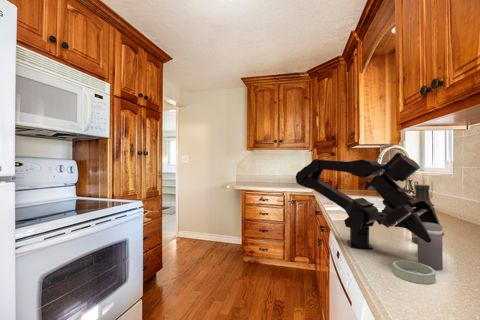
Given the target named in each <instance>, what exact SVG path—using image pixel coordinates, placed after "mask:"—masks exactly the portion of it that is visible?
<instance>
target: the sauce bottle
mask: <svg viewBox="0 0 480 320" xmlns="http://www.w3.org/2000/svg"><path fill="white" fill-rule="evenodd" d="M414 190H415V198H414V199H416V200H417V201H418V202H419V201H421V200H429V201H430V202H431V203H432V201H431V199H430V185H429V184H414ZM433 207H434V206H433ZM433 207H432V208H433ZM410 232H411V231H410ZM411 241H412V242H413V243H416V244H418V236H417V235H415V234H414V233H412V232H411Z"/></svg>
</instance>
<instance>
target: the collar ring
mask: <svg viewBox="0 0 480 320" xmlns="http://www.w3.org/2000/svg"><path fill="white" fill-rule="evenodd" d="M408 270H410V271H408ZM412 271H416V272H412ZM417 272H420V273H417ZM392 273H393V274H394V275H395V276H396V277H399V278H400V279H402V280H404V281H408V282H412V283H415V284H422V285H430V284H436V270H434V269H432V268H431V267H429V266H427V265H424V264H422V263H418V261H417V262H416V261H413V260H405V259H404V260H403V259H399V260H394V261H393V262H392Z"/></svg>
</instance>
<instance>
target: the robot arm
mask: <svg viewBox="0 0 480 320" xmlns="http://www.w3.org/2000/svg"><path fill="white" fill-rule="evenodd" d="M419 169H420V165H419V164H418V162H416V161H415V160H414V159H411V158H410V157H408V156H407V155H404V154H403V153H402V152H396V153H395V154H394V155H393V156H392V157H391V159H389V160H388V162H386V163H379V162H378V160H375V159H358V160H357V159H355V160H349V161H347V160H346V161H345V160H332V159H324V158H315V159H312V161H311V162H310V163H309V164H307V165H305V166H304V167H302V169H301V170H299V171H297V172H296V174H295V180H296V181H295V182H296V184H297V185H299V186H302V187H303V188H306V189H311V190H314V191H315V192H317V193H318V194H320V195H322V196H323V197H324V198H326V199H328V200H330V202H332V203H334V204H335V205H337V206H338V207H340V208H341V209H343V210H344V211H345V212H346V215H347V216H348V217H347V218H345V219H344V220H343V222H344V225H345V227H346V228H349V239H347V240H346V242H347V243H348V245H349V246H350V247H351V248H352V249H353V248H356V249H367V250H368V249H369V250H373V249H374V247H373V245H371V243H370V227H373V226H374V224H375V222H376V223H377V224H378V225H382V226H384V227H385V228H387V229H388V228H390V227H395V228H402V229H406V230H407V231H409V232H412V233H414V234H415V235H417V236H418V237H420V238H421V239H422V240H424V241H425V242H427V243H429V242H431V241H432V240H431V238H430V236H429V234H428V232H427V230H426V229H425V227H424V225H423V223H422V222H429V223H435V224H439V225H441V223H440V221H439V218H438V216H437V213H436V210H435V207H434V206H435V205H434V204H433V202H432V201H431V200H430V201H431V202H430V201H429V200H421V201H419V202H418V201H417V200H416V199H415V198H412V197H411V196H410V195H409V194H408V193H407V192H408V190H407V189H406V188H405V187H403V188H402V187H401V186H400V185H399V184H398V183H397V182H399V181H400V182H405V181H406V180H407V179H409V177H411V176H412V175H413V174H414V173H416V172H417V171H418V170H419ZM325 170H326V171H334V172H342V173H346V174H350V175H352V176H356V177H359V178H371V179H370V180H365V181H364V183H365V185H364V190H365V191H366V190H372V189H374V190H375V192H376V193H377V194H378V195H379V196H380V197H381V198H382V199H383V200H382V204H383V205H384V208H383V209H382V210H381V211H379V209H378V208H377V207H376V206H375V203H372V202H370V201H368V200H367V199H365V198H363V197H360V198H352V197H351V196H348V195H347V194H345V193H344V192H342V191H340V190H338V189H336V188H335V187H333V186H331V185H330V184H328V183H327V182H326V181H324V180H322V178H321V176H322V173H323V172H324V171H325ZM380 173H381V174H380ZM432 207H433V208H432ZM444 236H445V233H444V232H443V234H442V237H444Z"/></svg>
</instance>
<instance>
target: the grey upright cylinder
mask: <svg viewBox="0 0 480 320" xmlns="http://www.w3.org/2000/svg"><path fill="white" fill-rule="evenodd" d="M422 223H423V225H424V227H425V229H426V230H427V232H428V234H429V236H430V238H431V240H432V241H431V242H429V243H427V242H425V241H424V240H422V239H421V238H420V237H418V243H417V262H418V263H422V264H424V265H427V266H429V267H431V268H432V269H434V270H435V271H442V270H444V269H443V267H444V265H443V262H444V261H443V260H444V259H443V255H444V254H443V252H444V251H443V250H444V249H443V243H444V242H443V236H442V234H443V233H444V231H443V225H442V224H440V225H439V224H435V223H429V222H422Z"/></svg>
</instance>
